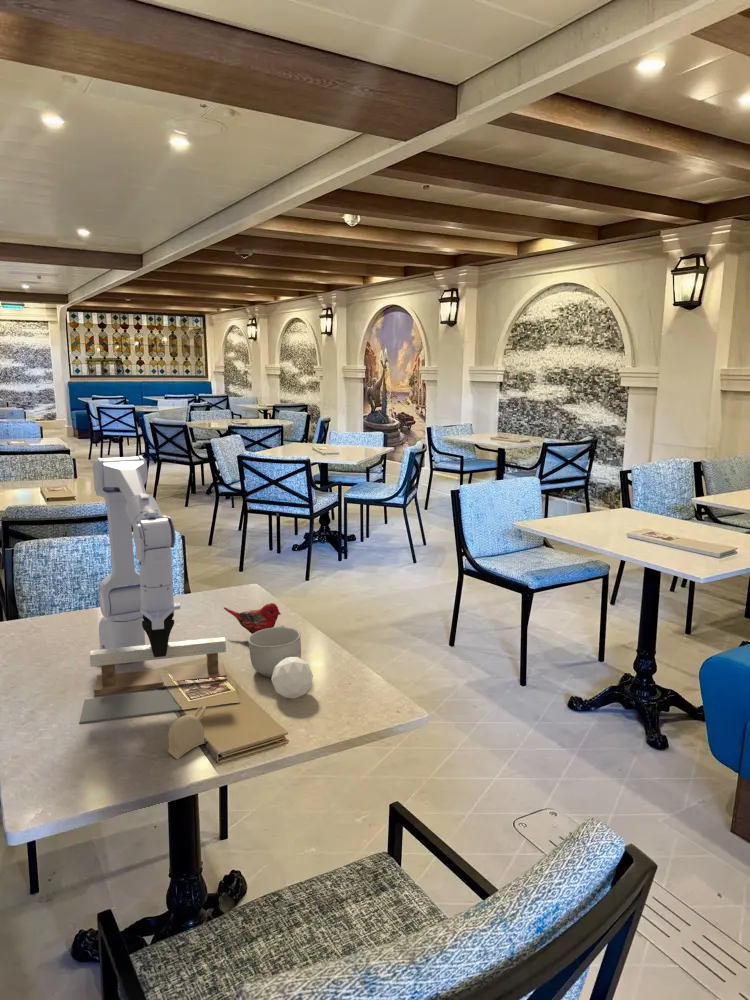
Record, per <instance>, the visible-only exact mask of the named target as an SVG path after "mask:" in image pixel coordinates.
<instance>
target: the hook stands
mask: <svg viewBox="0 0 750 1000" xmlns="http://www.w3.org/2000/svg"><path fill="white" fill-rule="evenodd" d="M115 665H116V664H110V665H101V674H99V675H98V674H97V675H96V678H95V682H94V683H95V684H94V689H93V694H94V696H100V695H109V694H118V693H125V692H135V691H142V690H152V689H160V688H164V687H163V683H164V681H163V680H162V678H161V676H160V673H161V672H160V671H158V670H161V669H162V670H164V671H165V670H166V671H168V672H169V673H170V674H171V675H172V676H173V679H174V680H173V679H172V680H173V681H185V680H197V679H198V680H199V679H209V678H216V677H227V670H226V666H225V662H224V661H219V653H212V654H206V663H200V664H190V665H182V666H181V665H180V666H172V667H163V668H162V667H161V668H154V669H153V668H152V669H145V670H136V671H135V670H134V671H126V672H117V673H116V670H115V669H116V668H115ZM166 671H165V673H166ZM168 672H167V673H168ZM170 680H171V679H170ZM169 682H170V681H169ZM171 682H172V681H171Z"/></svg>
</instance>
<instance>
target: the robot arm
mask: <svg viewBox="0 0 750 1000" xmlns="http://www.w3.org/2000/svg"><path fill="white" fill-rule="evenodd" d="M92 464H93V465H92V475H93V485H94V491H95V495H96V496H98V497H102V498H104V502H105V504H106V510H107V511H106V513H107V524H108V535H109V536H108V537H109V549H110V559H111V560H110V561H111V572H110V573H109V574H108V575H107V576H106V577H105V578H104V579H103V580H101V581H100V583H99V594H98V595H99V597H98V598H99V608H100V613H101V615H102V617H101V619H100V621H99V624H98V638H99V639H98V640H99V650H101V649H111V648H121V647H131V646H141V645H146V636H145V635H147V637H148V638H147V639H148V641H149V643H150V644H151V648H152V652H153V655H154V657H163V656H166V653H167V648H168V643H169V640H170V635H171V631H172V629H173V627H174V625H175V619H173V618H174V616H175V611H176V610H177V611H178V610H180V609H181V603H180V602H174V599H175V598H174V585H173V584H174V581H173V562H172V561H173V559H172V558H173V557H172V548H175V544H176V529H175V525H174V522H173V519H172V517H171V516H168V515H167V514H163V513H162V511H161V509H160V507H159V505H158V502H157V500H156V499H155V497H154V496H152V495H151V494H149V493H147V491H146V489H145V485H146V483H147V481H148V478H149V477H148V476H149V475H148V472H149V471H148V464H147V461H146V459H145V458H144V457H143V455H136V456H121V457H119V456H117V457H104V458H103V457H96V458H95V459H94V461H93V463H92ZM133 542H134V544H133ZM134 547H135V555H134ZM135 557H136V559H137V561H138V568H139V569H138V570H139V572H138V571H137V570H136V569H135V568H136V567H135ZM145 633H146V634H145ZM150 644H149V645H150ZM129 663H131V662H129ZM129 663H128V664H129Z"/></svg>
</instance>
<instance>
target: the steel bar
mask: <svg viewBox="0 0 750 1000" xmlns="http://www.w3.org/2000/svg"><path fill="white" fill-rule="evenodd" d="M226 642H227V641H226V637H225V636H221V637H220V636H219V637H210V638H200V639H192V640H182V641H181V640H179V641H172V642H168V648H167V653H166V656H163V657H154V655H153V652H152V648H151V644H145V645H141V646H131V647H121V648H111V649H101V650H100V649H94V650H90V653H89V662H90V665H89V666H90V667H100V666H101V665H110V664H114V665H116V664H117V665H119V664H129V662H130V663H136V662H145V661H155V660H163V659H164V660H165V659H174V658H181V657H182V658H183V657H184V658H185V657H191V656H199V655H207V654H212V653H218V654H220V653H226V652H227V643H226Z"/></svg>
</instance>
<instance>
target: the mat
mask: <svg viewBox="0 0 750 1000" xmlns="http://www.w3.org/2000/svg"><path fill="white" fill-rule="evenodd" d="M167 690H168V689H163V690H162V689H161V690H153V691H147V692H146V691H144V692H136V693H128V694H119V695H113V696H104V697H102V696H101V697H93V698H86V699H84V700H83V706H82V709H81V713H80V718H79V722H78V723H79V724H87V723H95V722H101V721H102V722H103V721H109V720H111V721H112V720H118V719H127V718H134V717H141V716H149V715H157V714H158V715H159V714H166V713H173V712H174V713H175V712H181V711H180V710H181V709H180V708H179V706H178V705H177V704H176V703H175V702H174V700H173V698H172V697H171V695H170V694H169V693H168V692H167Z"/></svg>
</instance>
